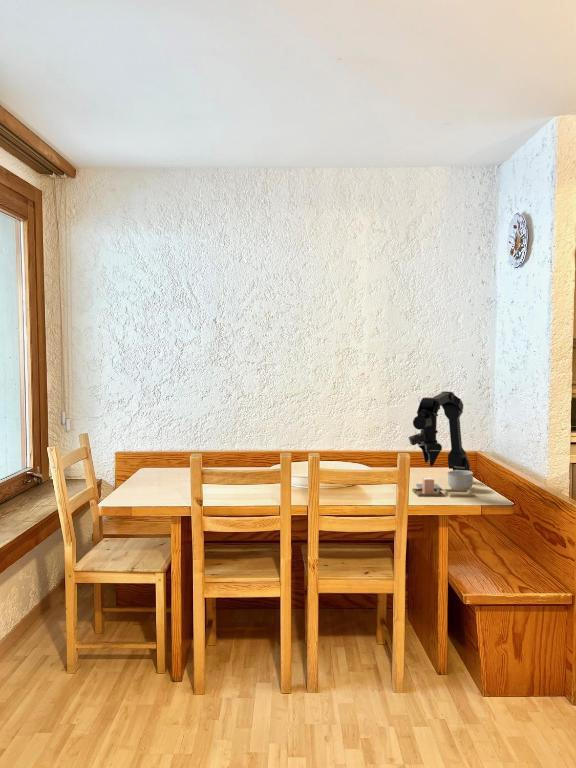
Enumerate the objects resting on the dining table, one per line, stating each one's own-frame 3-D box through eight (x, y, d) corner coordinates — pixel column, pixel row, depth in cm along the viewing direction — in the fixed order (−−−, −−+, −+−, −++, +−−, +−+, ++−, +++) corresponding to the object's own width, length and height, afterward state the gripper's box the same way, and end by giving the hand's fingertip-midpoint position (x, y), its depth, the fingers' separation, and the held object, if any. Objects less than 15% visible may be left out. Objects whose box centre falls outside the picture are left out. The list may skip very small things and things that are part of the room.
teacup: (473, 493, 284) (474, 474, 283) (447, 491, 286) (448, 473, 286) (471, 486, 297) (471, 469, 297) (446, 485, 300) (446, 467, 299)
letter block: (422, 492, 281) (422, 477, 281) (431, 492, 281) (431, 477, 281) (424, 494, 277) (424, 479, 277) (433, 494, 277) (434, 479, 277)
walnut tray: (412, 492, 285) (412, 488, 285) (437, 492, 285) (437, 488, 285) (418, 497, 274) (418, 494, 274) (444, 497, 274) (444, 494, 274)
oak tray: (442, 492, 284) (442, 489, 284) (468, 492, 284) (468, 489, 284) (449, 498, 273) (449, 494, 273) (476, 498, 273) (476, 494, 273)
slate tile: (416, 487, 295) (416, 483, 295) (436, 487, 295) (436, 484, 295) (420, 491, 286) (421, 488, 286) (441, 491, 286) (441, 488, 286)
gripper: (405, 425, 287) (405, 460, 288) (415, 430, 268) (414, 468, 269) (431, 425, 287) (430, 460, 288) (442, 430, 269) (441, 468, 269)
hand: (428, 464), depth 279 cm, fingers open, 9 cm apart
